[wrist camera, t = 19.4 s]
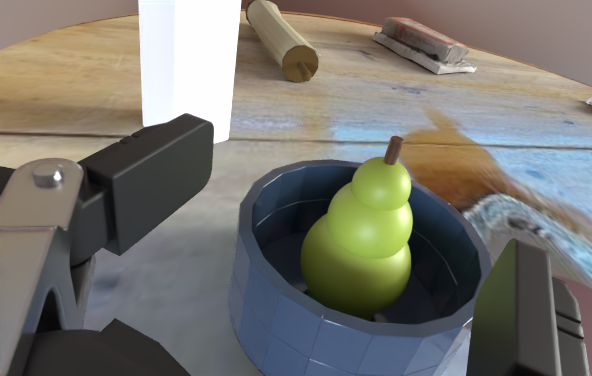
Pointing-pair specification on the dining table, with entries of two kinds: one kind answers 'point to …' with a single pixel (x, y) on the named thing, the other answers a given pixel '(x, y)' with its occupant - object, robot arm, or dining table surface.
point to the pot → (333, 324)
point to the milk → (188, 60)
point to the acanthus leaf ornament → (589, 101)
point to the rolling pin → (283, 41)
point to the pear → (362, 240)
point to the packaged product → (424, 46)
